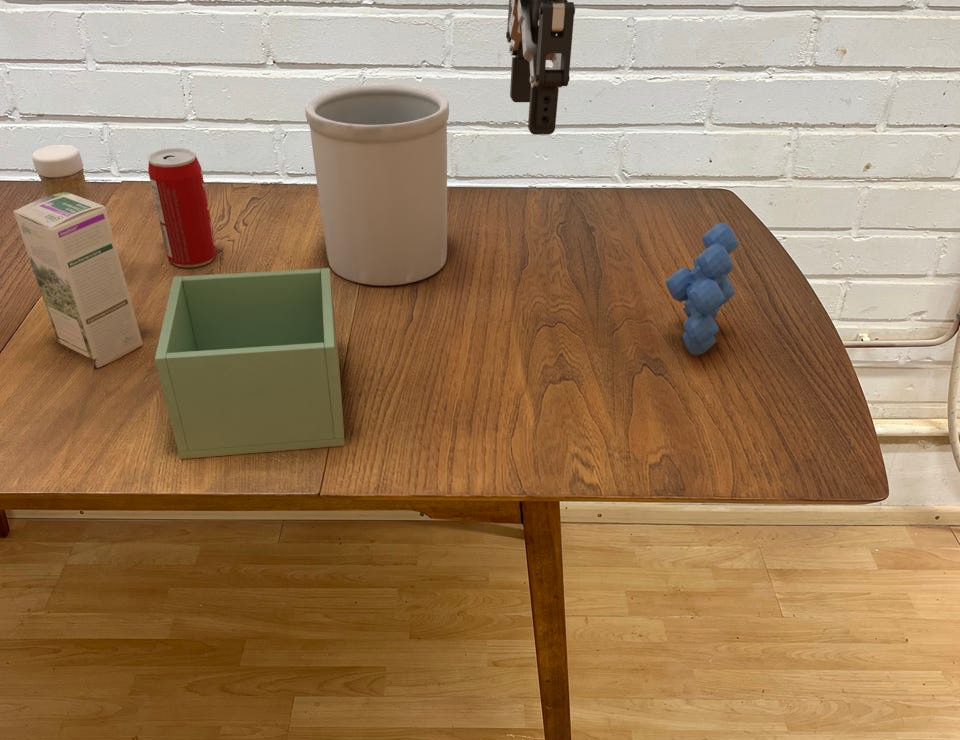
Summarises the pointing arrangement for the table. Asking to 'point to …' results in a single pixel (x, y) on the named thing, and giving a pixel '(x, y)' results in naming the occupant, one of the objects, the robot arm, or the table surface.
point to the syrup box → (80, 275)
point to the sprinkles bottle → (61, 170)
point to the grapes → (705, 288)
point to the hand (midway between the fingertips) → (531, 116)
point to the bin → (251, 363)
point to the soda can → (182, 207)
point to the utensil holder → (381, 180)
